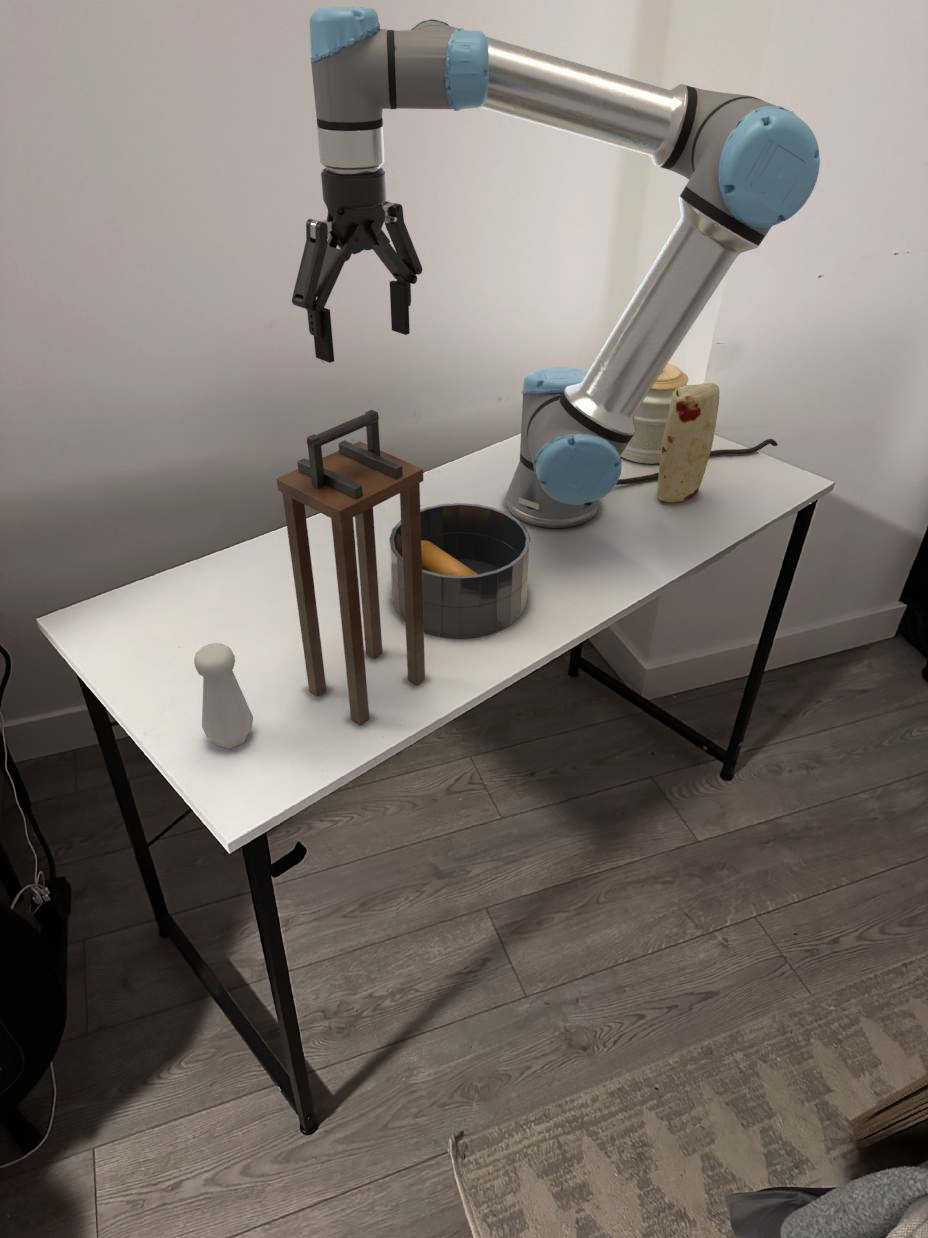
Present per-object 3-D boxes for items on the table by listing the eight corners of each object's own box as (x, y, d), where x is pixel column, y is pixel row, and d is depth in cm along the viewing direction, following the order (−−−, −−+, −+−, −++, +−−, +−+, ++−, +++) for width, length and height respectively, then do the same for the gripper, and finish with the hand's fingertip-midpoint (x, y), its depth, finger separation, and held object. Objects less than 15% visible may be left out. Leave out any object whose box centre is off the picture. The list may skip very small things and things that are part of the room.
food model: (671, 512, 147) (690, 398, 134) (643, 496, 151) (659, 384, 139) (712, 496, 151) (734, 384, 139) (684, 480, 155) (703, 371, 143)
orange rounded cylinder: (403, 563, 129) (405, 542, 127) (422, 552, 132) (424, 531, 129) (479, 617, 123) (483, 595, 120) (498, 604, 125) (502, 583, 123)
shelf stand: (305, 691, 111) (269, 429, 90) (374, 646, 118) (356, 394, 97) (359, 728, 106) (335, 460, 84) (428, 679, 113) (422, 420, 92)
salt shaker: (237, 760, 102) (219, 674, 94) (195, 746, 103) (174, 661, 95) (264, 726, 106) (249, 642, 98) (224, 714, 108) (205, 630, 100)
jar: (609, 432, 171) (620, 342, 160) (677, 435, 170) (692, 345, 159) (611, 463, 161) (622, 369, 150) (683, 467, 159) (700, 373, 149)
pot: (512, 555, 136) (515, 498, 130) (539, 632, 121) (543, 571, 115) (387, 565, 134) (384, 507, 128) (399, 644, 119) (396, 583, 113)
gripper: (404, 148, 113) (410, 315, 126) (246, 178, 98) (271, 364, 111) (448, 156, 109) (449, 327, 122) (290, 188, 94) (310, 379, 107)
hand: (364, 345), depth 116 cm, fingers open, 13 cm apart
